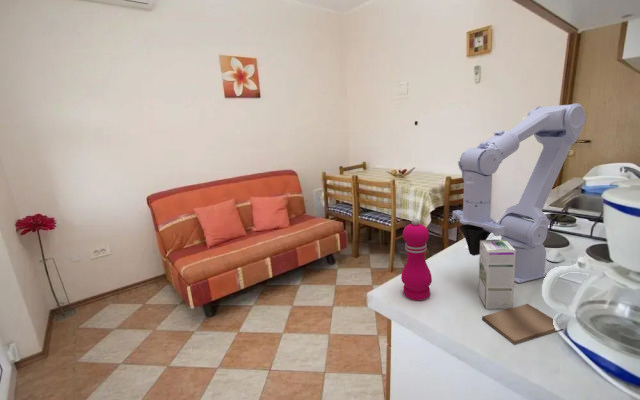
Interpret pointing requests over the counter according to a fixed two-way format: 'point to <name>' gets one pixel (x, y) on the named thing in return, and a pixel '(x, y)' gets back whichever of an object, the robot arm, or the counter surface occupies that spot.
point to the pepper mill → (416, 262)
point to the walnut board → (520, 323)
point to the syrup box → (496, 274)
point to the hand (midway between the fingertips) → (475, 254)
